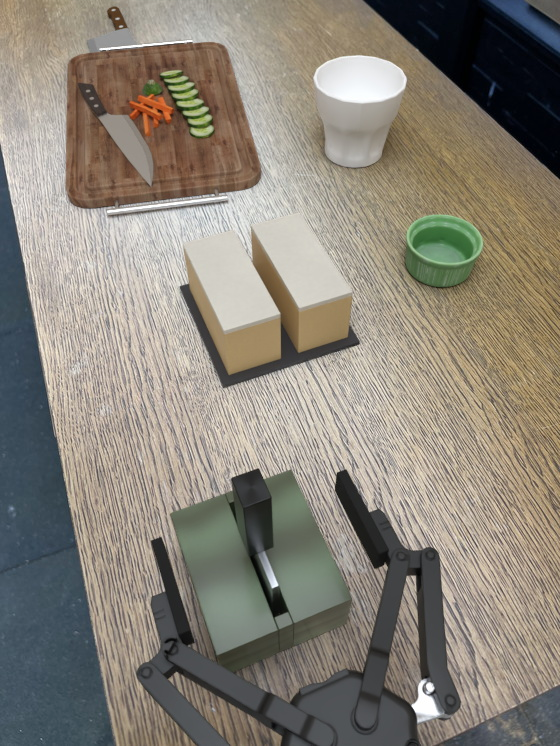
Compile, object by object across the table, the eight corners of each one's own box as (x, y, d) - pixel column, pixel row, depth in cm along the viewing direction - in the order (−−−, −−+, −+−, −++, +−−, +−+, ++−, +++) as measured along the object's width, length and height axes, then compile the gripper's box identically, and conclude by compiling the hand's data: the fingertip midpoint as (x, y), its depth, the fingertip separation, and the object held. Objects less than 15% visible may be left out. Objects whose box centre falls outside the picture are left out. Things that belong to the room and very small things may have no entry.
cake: (359, 344, 72) (366, 295, 66) (223, 388, 68) (217, 341, 62) (302, 254, 81) (303, 204, 75) (179, 289, 78) (170, 239, 72)
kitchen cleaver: (75, 14, 121) (128, 3, 123) (77, 20, 122) (129, 8, 124) (99, 77, 107) (157, 63, 109) (101, 83, 108) (159, 69, 110)
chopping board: (268, 198, 88) (267, 179, 86) (67, 223, 85) (61, 204, 83) (223, 41, 115) (222, 23, 113) (69, 56, 112) (64, 37, 110)
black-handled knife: (288, 621, 54) (288, 535, 40) (265, 630, 53) (258, 547, 40) (254, 536, 58) (244, 434, 45) (233, 545, 58) (216, 443, 44)
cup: (392, 127, 98) (403, 54, 90) (399, 177, 91) (411, 102, 82) (310, 127, 99) (313, 54, 90) (310, 176, 91) (313, 101, 82)
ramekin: (418, 298, 76) (424, 270, 73) (390, 249, 82) (394, 221, 78) (487, 283, 78) (497, 255, 74) (455, 236, 83) (463, 208, 80)
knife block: (346, 623, 53) (352, 598, 49) (222, 677, 51) (216, 656, 46) (290, 501, 60) (291, 469, 56) (179, 542, 58) (169, 513, 53)
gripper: (173, 975, 34) (89, 596, 46) (570, 767, 39) (401, 478, 51) (149, 996, 28) (60, 555, 40) (620, 747, 33) (417, 426, 46)
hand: (252, 511), depth 46 cm, fingers open, 13 cm apart
